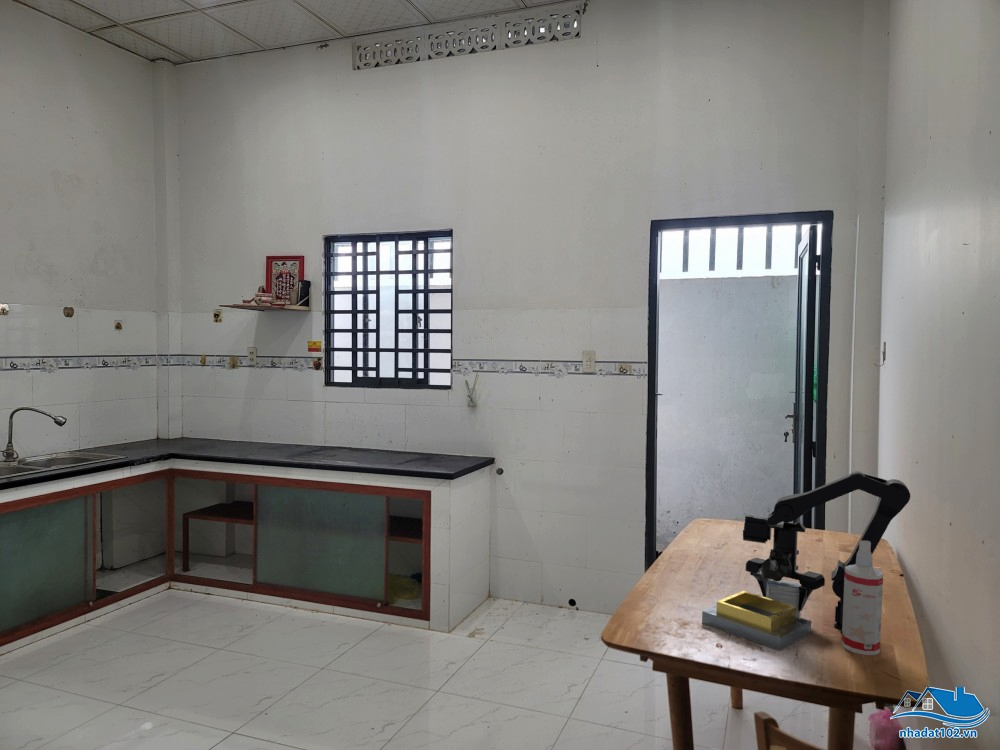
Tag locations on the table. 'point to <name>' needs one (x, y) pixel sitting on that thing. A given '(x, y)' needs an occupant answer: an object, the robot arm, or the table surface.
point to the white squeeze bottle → (862, 604)
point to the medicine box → (784, 592)
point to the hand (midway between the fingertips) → (782, 605)
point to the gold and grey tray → (758, 620)
